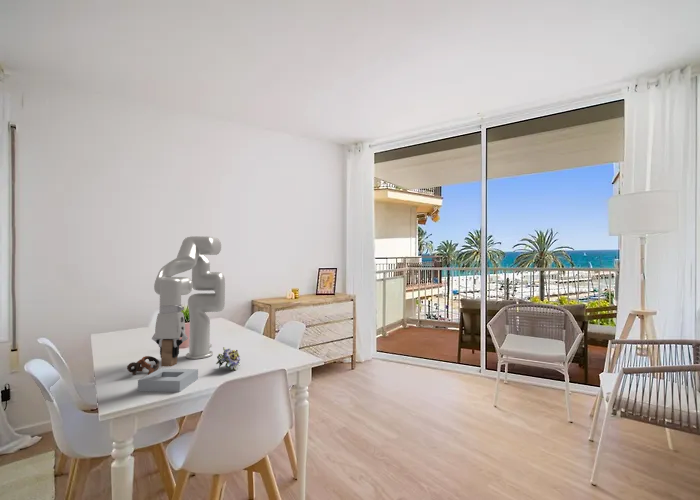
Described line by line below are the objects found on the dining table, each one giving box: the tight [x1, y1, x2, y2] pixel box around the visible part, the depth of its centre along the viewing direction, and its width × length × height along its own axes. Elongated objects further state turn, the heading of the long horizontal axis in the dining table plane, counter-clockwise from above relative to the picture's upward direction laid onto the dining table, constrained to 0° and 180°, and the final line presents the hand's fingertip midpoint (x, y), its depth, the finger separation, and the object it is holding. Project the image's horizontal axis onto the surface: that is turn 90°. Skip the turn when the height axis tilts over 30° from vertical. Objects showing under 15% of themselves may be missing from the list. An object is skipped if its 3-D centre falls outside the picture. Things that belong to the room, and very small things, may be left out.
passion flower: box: [215, 347, 241, 371], centre depth 156 cm, size 11×11×12 cm
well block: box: [137, 368, 199, 393], centre depth 136 cm, size 14×16×4 cm
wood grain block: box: [160, 339, 178, 368], centre depth 136 cm, size 4×4×10 cm
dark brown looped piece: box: [126, 355, 160, 376], centre depth 148 cm, size 12×10×8 cm
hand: (169, 356), depth 136 cm, fingers closed on wood grain block, 4 cm apart
